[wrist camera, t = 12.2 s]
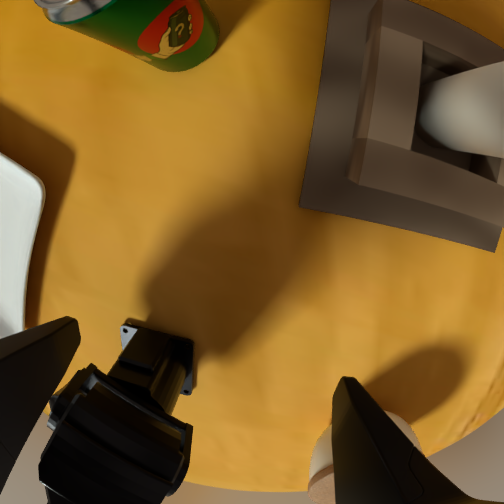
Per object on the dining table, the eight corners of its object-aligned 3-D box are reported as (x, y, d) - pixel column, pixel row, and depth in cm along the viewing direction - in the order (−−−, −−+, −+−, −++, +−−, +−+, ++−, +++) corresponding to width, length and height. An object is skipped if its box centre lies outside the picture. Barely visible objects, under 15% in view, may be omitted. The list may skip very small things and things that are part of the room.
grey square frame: (490, 250, 18) (519, 270, 14) (298, 205, 19) (302, 221, 15) (518, 63, 13) (549, 57, 9) (332, -18, 13) (341, -48, 9)
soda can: (226, 8, 15) (165, -106, 4) (214, 75, 17) (121, -2, 5) (155, 10, 15) (50, -67, 4) (142, 74, 17) (9, 33, 6)
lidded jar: (419, 424, 25) (440, 491, 17) (334, 460, 28) (338, 527, 20) (390, 372, 23) (418, 458, 14) (286, 419, 26) (283, 502, 17)
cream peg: (459, 156, 16) (567, 183, 7) (404, 137, 16) (506, 145, 7) (467, 96, 14) (572, 87, 5) (413, 74, 15) (509, 35, 5)
